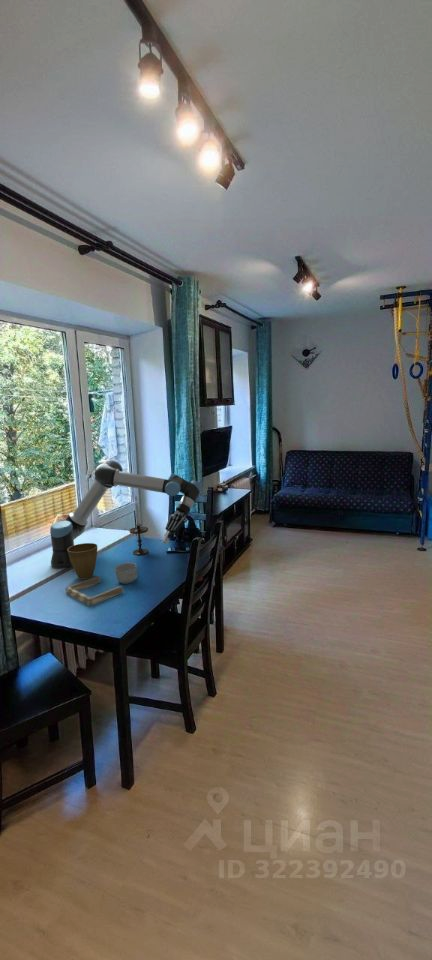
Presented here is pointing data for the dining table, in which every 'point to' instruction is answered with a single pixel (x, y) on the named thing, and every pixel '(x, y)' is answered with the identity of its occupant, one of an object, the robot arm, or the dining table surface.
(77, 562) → the plant pot
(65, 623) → the dining table surface
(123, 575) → the teacup
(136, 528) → the candlestick
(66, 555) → the robot arm
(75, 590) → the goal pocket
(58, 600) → the dining table surface
